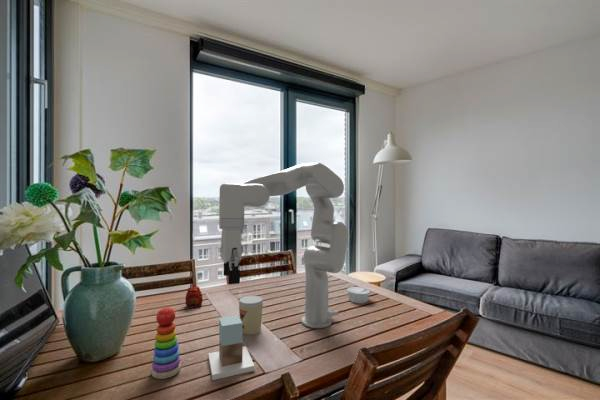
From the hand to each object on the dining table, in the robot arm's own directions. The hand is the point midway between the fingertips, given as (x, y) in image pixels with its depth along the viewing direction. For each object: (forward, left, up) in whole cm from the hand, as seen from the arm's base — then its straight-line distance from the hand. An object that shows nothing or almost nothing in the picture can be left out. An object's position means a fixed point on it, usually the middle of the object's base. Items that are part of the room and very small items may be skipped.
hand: (231, 279), depth 88 cm
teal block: (0, 0, -19) cm, 19 cm away
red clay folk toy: (+8, -54, -27) cm, 61 cm away
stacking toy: (+18, -3, -26) cm, 32 cm away
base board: (0, 0, -26) cm, 26 cm away
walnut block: (0, 0, -25) cm, 25 cm away
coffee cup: (-11, -20, -26) cm, 35 cm away
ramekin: (-69, -32, -27) cm, 81 cm away
